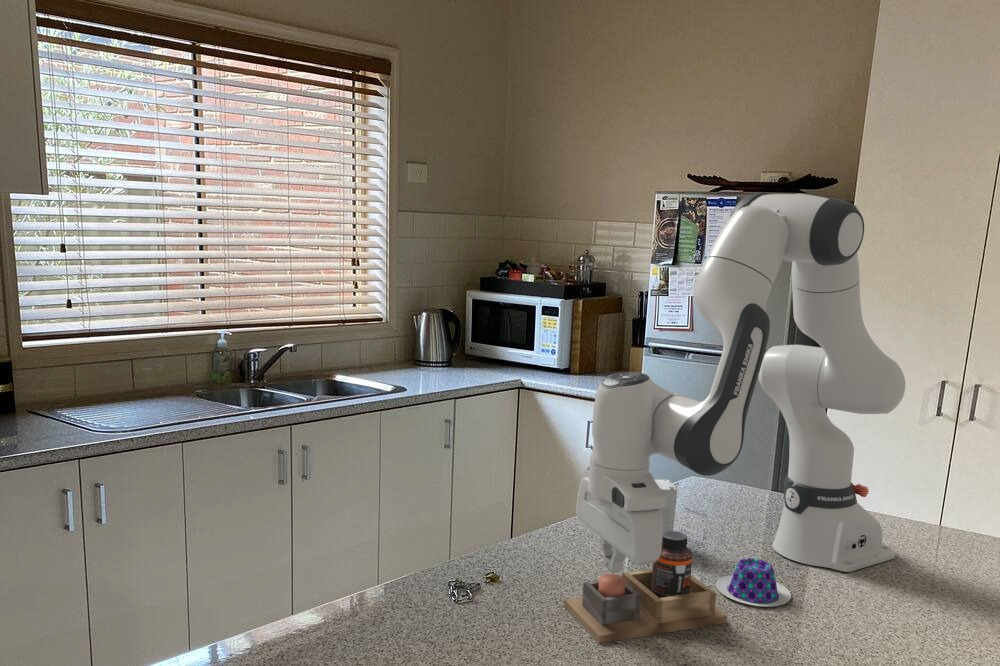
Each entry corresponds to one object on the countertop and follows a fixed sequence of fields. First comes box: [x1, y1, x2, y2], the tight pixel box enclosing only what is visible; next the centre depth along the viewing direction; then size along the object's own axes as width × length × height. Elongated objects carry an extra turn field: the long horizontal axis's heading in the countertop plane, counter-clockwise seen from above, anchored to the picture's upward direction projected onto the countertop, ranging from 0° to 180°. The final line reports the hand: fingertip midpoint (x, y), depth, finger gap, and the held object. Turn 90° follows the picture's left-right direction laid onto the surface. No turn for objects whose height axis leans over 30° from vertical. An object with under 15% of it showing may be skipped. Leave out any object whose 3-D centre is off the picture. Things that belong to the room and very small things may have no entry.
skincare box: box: [654, 478, 678, 532], centre depth 156 cm, size 6×4×12 cm
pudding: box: [716, 557, 792, 607], centre depth 138 cm, size 12×12×5 cm
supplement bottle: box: [651, 530, 693, 598], centre depth 130 cm, size 6×6×11 cm
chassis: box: [563, 568, 728, 644], centre depth 129 cm, size 22×12×5 cm, turn 111°
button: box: [598, 573, 626, 598], centre depth 126 cm, size 4×4×3 cm
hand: (612, 569), depth 125 cm, fingers closed
